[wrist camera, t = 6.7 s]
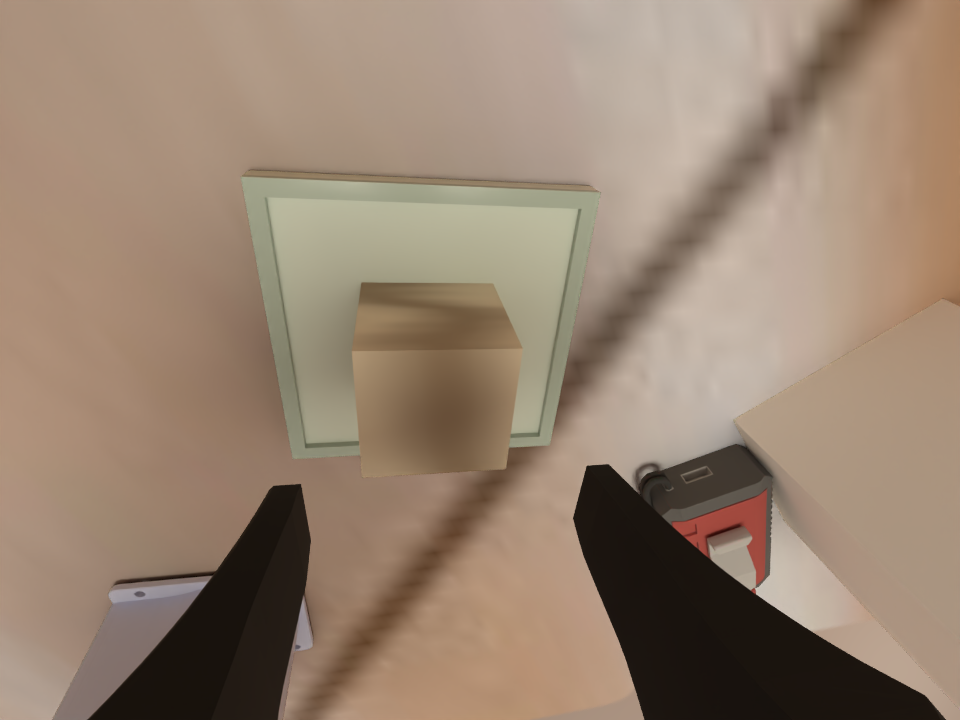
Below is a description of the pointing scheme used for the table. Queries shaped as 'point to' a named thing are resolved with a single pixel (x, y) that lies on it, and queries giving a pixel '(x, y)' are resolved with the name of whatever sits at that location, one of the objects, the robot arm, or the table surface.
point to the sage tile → (410, 280)
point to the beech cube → (433, 378)
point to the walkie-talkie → (719, 509)
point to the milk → (880, 479)
